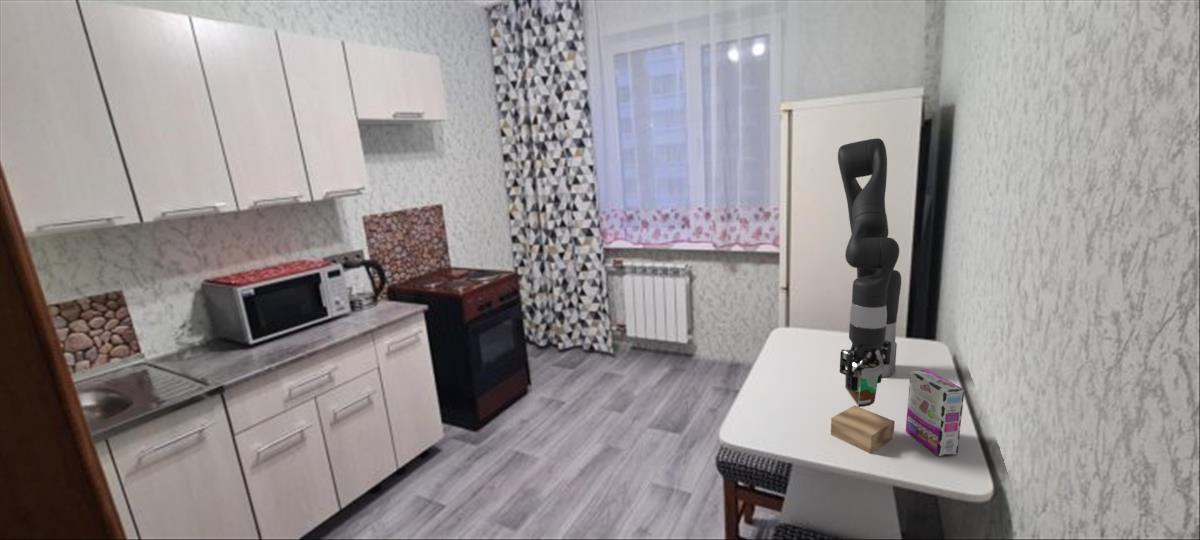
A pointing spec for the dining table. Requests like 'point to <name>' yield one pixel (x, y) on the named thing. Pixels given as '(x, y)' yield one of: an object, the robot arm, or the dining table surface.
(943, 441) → the candy bar box
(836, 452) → the dining table surface
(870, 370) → the food container
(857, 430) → the oak block
